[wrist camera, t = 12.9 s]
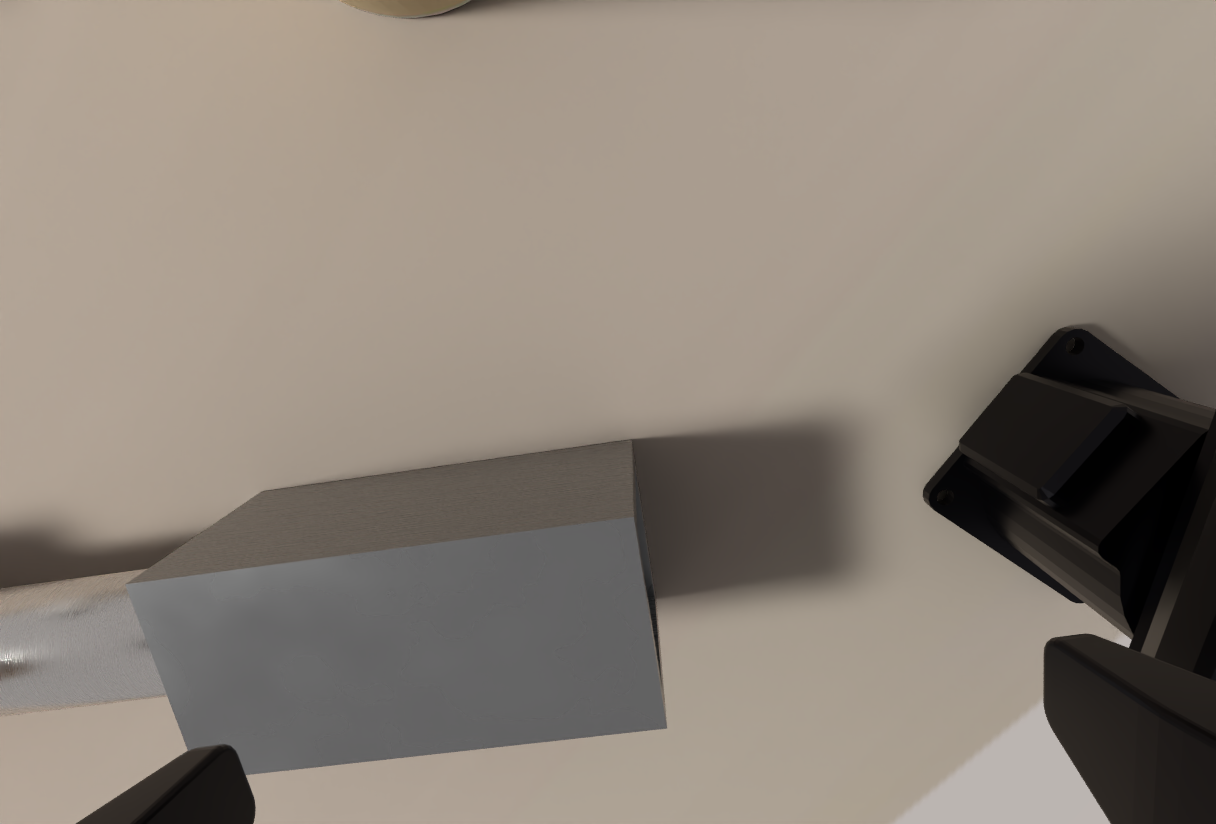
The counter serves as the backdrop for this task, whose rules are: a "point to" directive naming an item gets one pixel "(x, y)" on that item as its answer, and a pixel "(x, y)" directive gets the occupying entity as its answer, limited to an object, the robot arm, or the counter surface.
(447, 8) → the coffee cup
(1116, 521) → the robot arm
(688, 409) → the counter surface
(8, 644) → the brown and silver piece
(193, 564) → the steel block
